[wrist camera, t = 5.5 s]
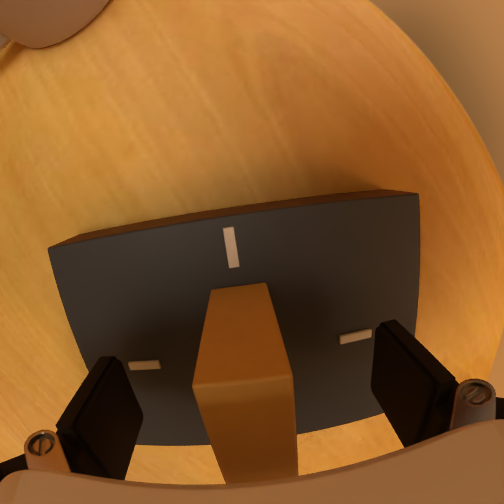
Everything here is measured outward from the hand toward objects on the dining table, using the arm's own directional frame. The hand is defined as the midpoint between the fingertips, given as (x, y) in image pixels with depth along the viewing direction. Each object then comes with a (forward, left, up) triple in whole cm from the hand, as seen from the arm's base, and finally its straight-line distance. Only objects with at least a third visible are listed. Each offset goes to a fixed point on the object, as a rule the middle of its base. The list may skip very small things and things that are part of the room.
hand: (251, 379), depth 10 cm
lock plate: (0, 0, -5) cm, 5 cm away
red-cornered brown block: (0, 0, -2) cm, 2 cm away
